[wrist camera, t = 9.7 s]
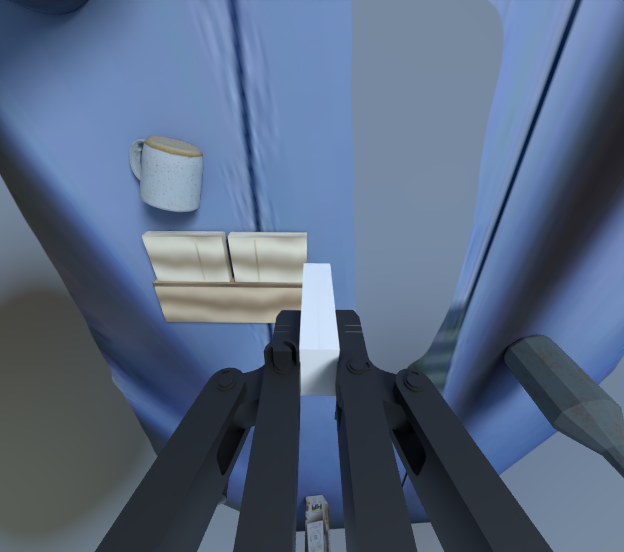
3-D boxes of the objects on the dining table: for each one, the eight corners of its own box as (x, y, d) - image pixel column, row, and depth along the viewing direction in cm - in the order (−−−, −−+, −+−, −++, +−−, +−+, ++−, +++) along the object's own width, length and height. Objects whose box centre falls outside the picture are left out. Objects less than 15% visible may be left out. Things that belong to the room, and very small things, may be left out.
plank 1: (147, 230, 46) (141, 236, 44) (224, 231, 46) (221, 237, 44) (163, 274, 50) (158, 281, 49) (232, 275, 51) (229, 282, 49)
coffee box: (305, 496, 98) (303, 559, 84) (322, 494, 97) (324, 558, 84) (312, 506, 103) (312, 568, 89) (328, 504, 102) (331, 567, 88)
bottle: (539, 366, 63) (692, 544, 38) (496, 366, 63) (621, 543, 38) (560, 333, 58) (757, 513, 32) (514, 332, 58) (673, 512, 32)
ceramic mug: (212, 147, 40) (191, 155, 33) (206, 202, 44) (187, 219, 37) (134, 123, 38) (95, 126, 32) (136, 182, 42) (102, 196, 36)
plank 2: (230, 231, 46) (227, 237, 44) (306, 232, 46) (306, 238, 44) (237, 275, 51) (235, 282, 49) (306, 276, 51) (306, 283, 49)
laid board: (158, 276, 51) (152, 282, 49) (312, 278, 51) (312, 284, 49) (170, 315, 55) (166, 322, 54) (311, 316, 56) (311, 323, 54)
